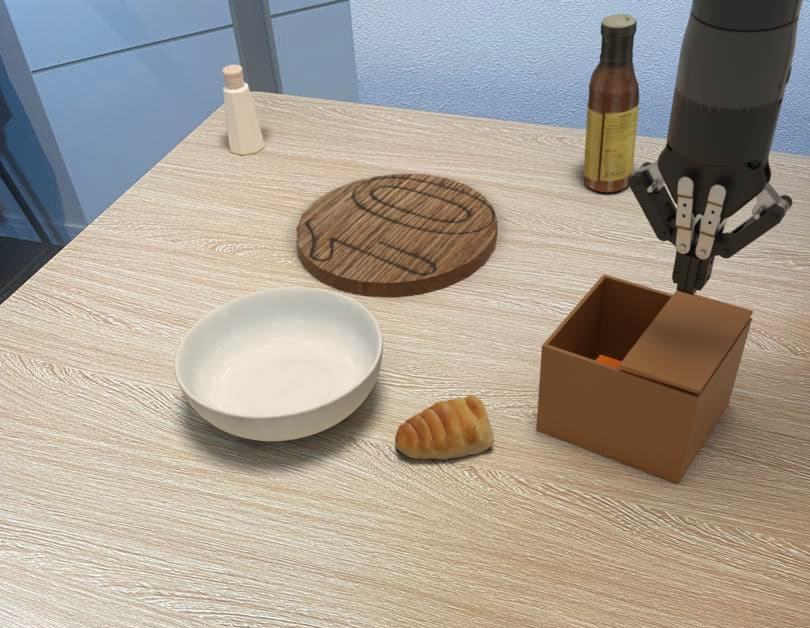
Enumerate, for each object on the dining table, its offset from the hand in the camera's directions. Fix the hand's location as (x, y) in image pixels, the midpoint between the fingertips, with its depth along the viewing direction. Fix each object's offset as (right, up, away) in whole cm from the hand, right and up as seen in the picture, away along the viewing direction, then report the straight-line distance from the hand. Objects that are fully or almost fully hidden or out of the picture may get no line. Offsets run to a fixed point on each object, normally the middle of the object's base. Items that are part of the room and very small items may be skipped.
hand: (689, 288), depth 78 cm
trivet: (-25, +16, +37) cm, 48 cm away
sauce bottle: (+2, +25, +43) cm, 50 cm away
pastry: (-20, -12, +13) cm, 26 cm away
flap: (+1, -4, +3) cm, 5 cm away
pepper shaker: (-47, +36, +55) cm, 81 cm away
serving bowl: (-36, -7, +18) cm, 41 cm away
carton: (-2, -9, +13) cm, 16 cm away
